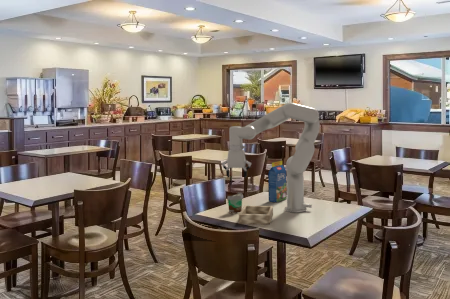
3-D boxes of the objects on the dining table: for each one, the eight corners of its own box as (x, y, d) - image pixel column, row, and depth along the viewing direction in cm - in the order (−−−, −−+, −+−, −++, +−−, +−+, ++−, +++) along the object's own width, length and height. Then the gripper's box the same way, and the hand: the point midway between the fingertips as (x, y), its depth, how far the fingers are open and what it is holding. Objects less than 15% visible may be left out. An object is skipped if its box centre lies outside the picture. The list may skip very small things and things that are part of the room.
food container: (236, 214, 245) (236, 197, 244) (227, 213, 249) (227, 196, 248) (247, 209, 256) (247, 193, 255) (238, 208, 259) (238, 192, 258)
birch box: (273, 214, 242) (272, 206, 242) (269, 224, 223) (269, 215, 222) (244, 214, 245) (244, 205, 245) (239, 223, 226) (239, 214, 225)
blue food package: (268, 201, 276) (267, 162, 273) (278, 198, 285) (278, 160, 282) (276, 202, 272) (276, 163, 269) (286, 199, 281) (286, 160, 278)
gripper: (252, 147, 250) (252, 176, 252) (222, 147, 254) (223, 176, 255) (250, 148, 243) (250, 178, 245) (220, 148, 246) (220, 178, 248)
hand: (236, 177), depth 250 cm, fingers open, 9 cm apart
